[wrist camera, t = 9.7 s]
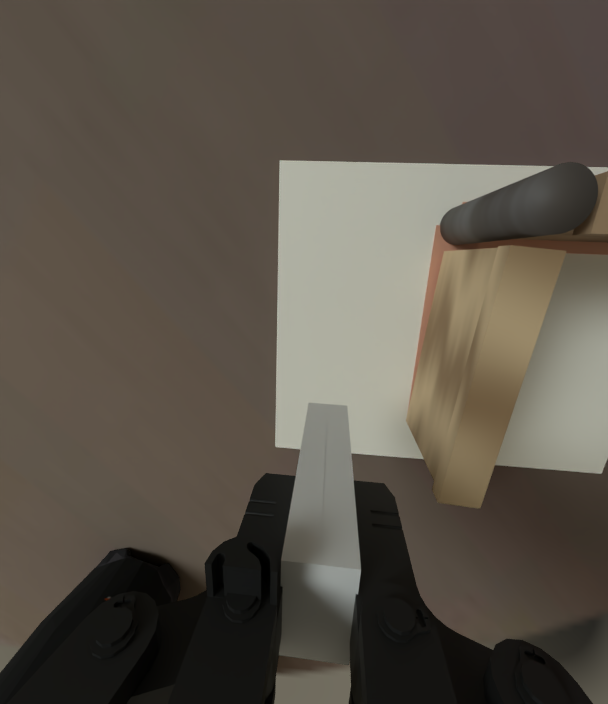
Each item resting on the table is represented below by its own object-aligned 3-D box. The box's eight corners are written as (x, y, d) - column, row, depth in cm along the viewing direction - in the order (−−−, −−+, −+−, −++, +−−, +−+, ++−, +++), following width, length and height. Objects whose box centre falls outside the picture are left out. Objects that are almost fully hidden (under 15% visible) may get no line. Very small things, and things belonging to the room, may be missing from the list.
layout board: (707, 171, 16) (719, 169, 15) (596, 469, 21) (602, 474, 21) (280, 162, 17) (279, 159, 17) (276, 443, 22) (275, 447, 22)
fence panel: (438, 250, 17) (511, 245, 10) (471, 254, 17) (566, 250, 10) (401, 420, 20) (437, 502, 13) (428, 423, 20) (480, 508, 13)
